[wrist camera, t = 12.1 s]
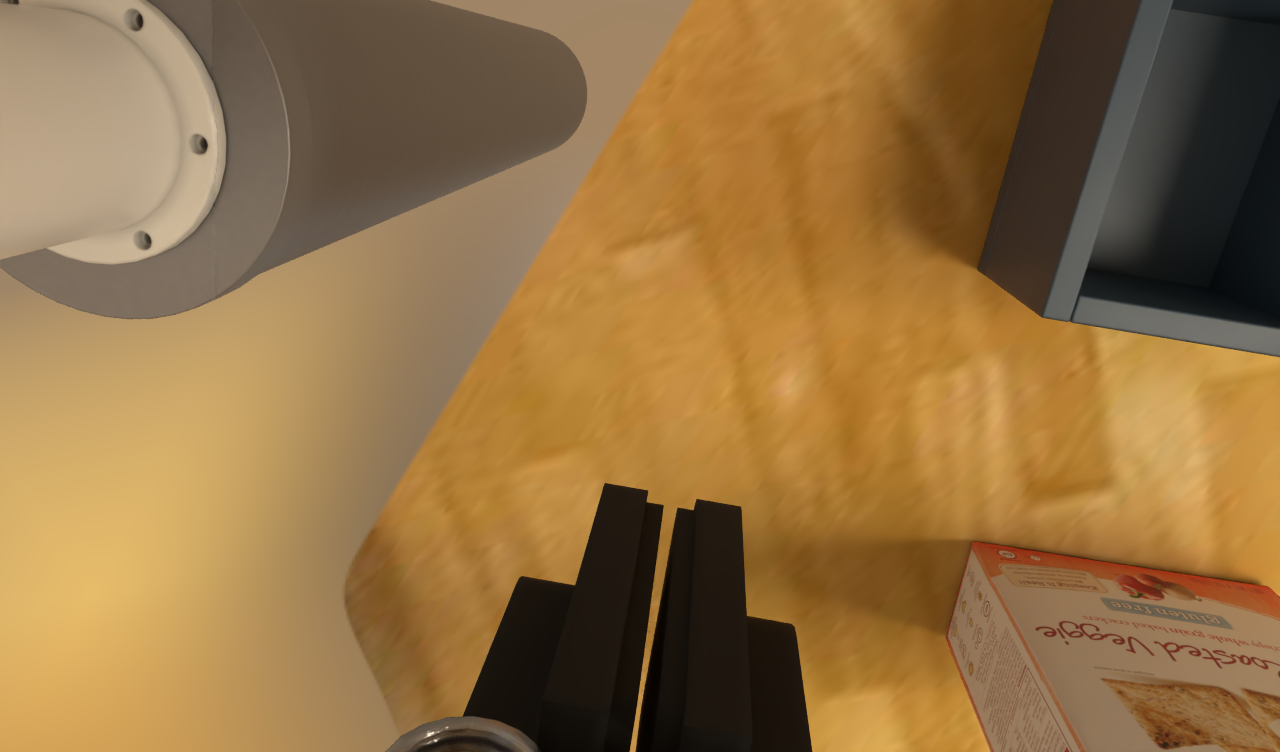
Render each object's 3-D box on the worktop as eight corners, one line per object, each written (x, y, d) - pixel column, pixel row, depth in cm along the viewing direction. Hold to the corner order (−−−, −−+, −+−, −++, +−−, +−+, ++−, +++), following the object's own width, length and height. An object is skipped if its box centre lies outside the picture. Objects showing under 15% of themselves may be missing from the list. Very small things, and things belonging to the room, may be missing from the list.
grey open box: (1040, 318, 30) (1335, 366, 30) (1160, -66, 26) (1501, -15, 26) (976, 270, 38) (1211, 309, 37) (1062, -33, 34) (1325, 7, 33)
